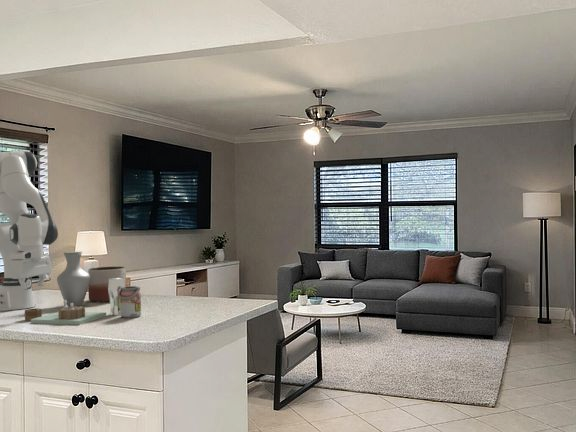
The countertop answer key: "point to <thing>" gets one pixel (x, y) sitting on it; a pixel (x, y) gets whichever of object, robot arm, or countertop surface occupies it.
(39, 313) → the gear
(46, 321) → the board
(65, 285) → the vase
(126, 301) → the beverage can
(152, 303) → the countertop surface
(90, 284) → the planter
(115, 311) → the beer glass
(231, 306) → the countertop surface
